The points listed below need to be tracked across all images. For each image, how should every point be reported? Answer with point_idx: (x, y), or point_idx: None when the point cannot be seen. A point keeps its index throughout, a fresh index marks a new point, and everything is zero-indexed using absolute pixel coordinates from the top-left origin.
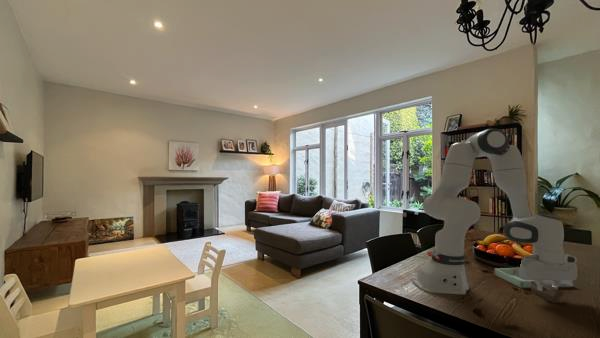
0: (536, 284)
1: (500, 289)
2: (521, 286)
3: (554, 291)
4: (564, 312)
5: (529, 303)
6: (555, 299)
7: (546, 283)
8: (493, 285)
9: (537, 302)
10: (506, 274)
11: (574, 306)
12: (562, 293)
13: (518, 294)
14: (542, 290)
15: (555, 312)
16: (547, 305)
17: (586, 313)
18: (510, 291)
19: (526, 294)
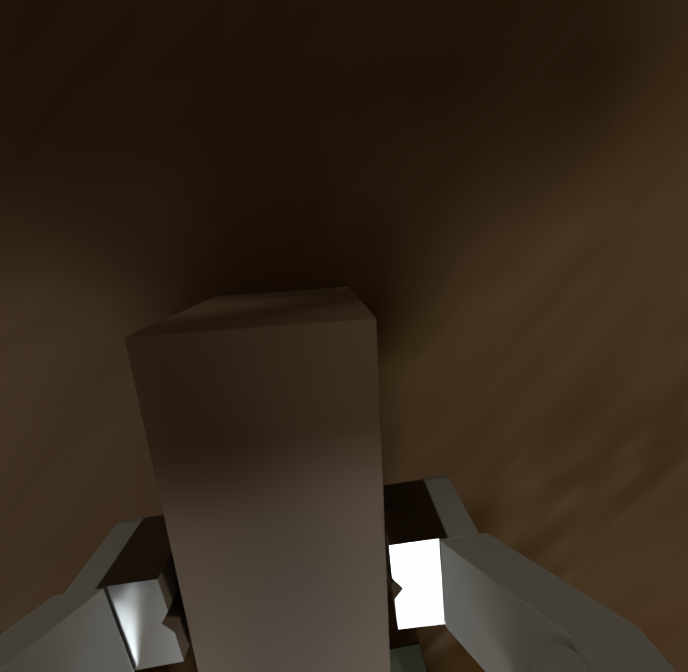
0: (388, 669)
1: (676, 581)
2: (422, 669)
3: (323, 359)
4: (401, 28)
5: (658, 269)
6: (324, 298)
7: None
8: (667, 657)
9: (529, 309)
10: None
11: (100, 244)
12: (157, 331)
13: (580, 492)
14: (424, 481)
15: (536, 18)
16: (468, 235)
17: (75, 18)
18: (607, 552)
19: (484, 506)
